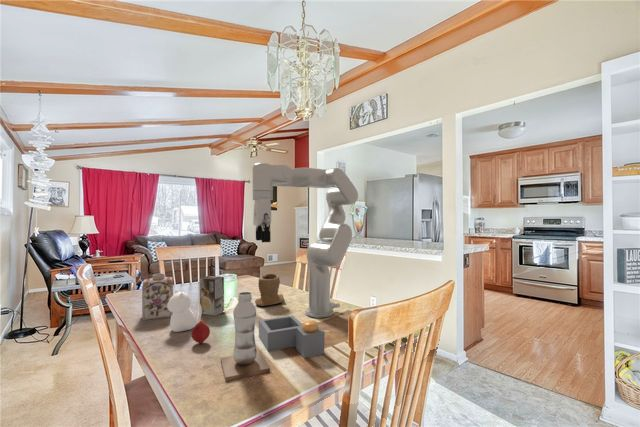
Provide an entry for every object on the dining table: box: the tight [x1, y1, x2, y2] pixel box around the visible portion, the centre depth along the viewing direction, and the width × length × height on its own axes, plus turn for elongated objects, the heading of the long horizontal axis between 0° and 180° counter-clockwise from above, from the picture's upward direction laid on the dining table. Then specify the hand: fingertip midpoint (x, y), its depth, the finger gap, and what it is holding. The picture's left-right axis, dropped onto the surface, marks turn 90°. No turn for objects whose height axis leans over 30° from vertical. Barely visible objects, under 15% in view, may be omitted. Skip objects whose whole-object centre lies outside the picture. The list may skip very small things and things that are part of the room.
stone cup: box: [254, 272, 286, 307], centre depth 148 cm, size 15×12×15 cm
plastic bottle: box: [232, 291, 258, 365], centre depth 87 cm, size 6×7×20 cm
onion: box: [191, 319, 211, 345], centre depth 102 cm, size 6×6×8 cm
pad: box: [220, 350, 271, 382], centre depth 87 cm, size 12×12×1 cm
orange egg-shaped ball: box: [301, 319, 319, 332], centre depth 96 cm, size 5×5×6 cm
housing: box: [258, 314, 325, 359], centre depth 101 cm, size 16×22×7 cm
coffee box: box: [199, 275, 225, 317], centre depth 135 cm, size 9×6×16 cm
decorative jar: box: [141, 272, 174, 321], centre depth 132 cm, size 12×12×18 cm
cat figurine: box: [167, 289, 203, 333], centre depth 116 cm, size 9×12×15 cm
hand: (262, 241), depth 113 cm, fingers open, 9 cm apart
